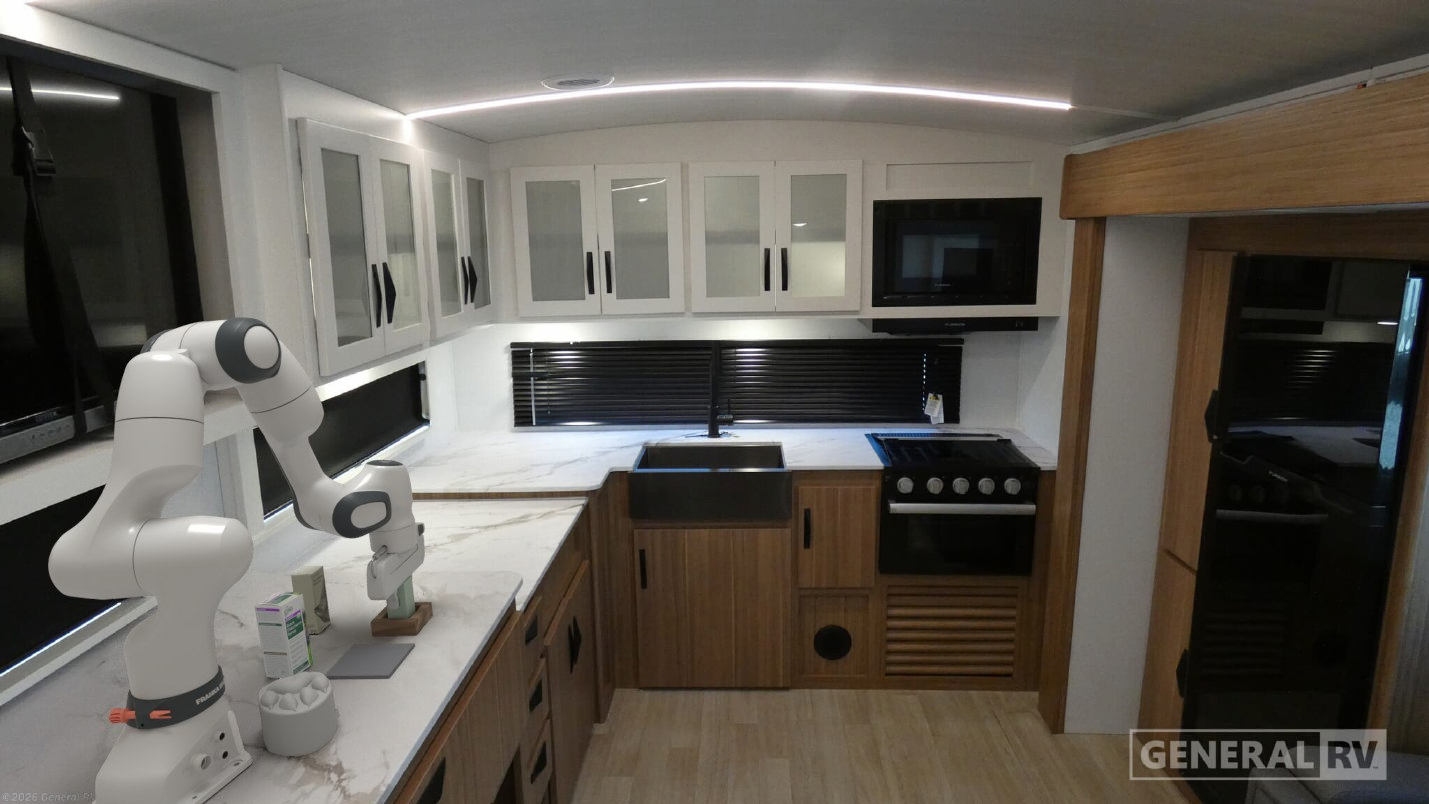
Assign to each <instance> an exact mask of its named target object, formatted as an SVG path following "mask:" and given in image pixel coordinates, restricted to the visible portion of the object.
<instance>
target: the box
mask: <svg viewBox="0 0 1429 804" xmlns="http://www.w3.org/2000/svg"><path fill="white" fill-rule="evenodd" d="M290 577H291V578H290V579H291V585H292V586H291V587H292V592H296V593H302V594H303V600H304V607H305V614H306V620H307V626H308V633H309V635H312V634H313V635H316V634H320V633H321V632H323V631H324V630H325V629H326V628H328V626H330V624H331V618H330V609H329V601H328V596H327V595H328V594H327V587H326V586H327V585H326V579H325V572H324V566H323V565H304V566H301V567H300V568H299V569H297V570H296V571H294V573H292V574H291V575H290ZM324 628H325V629H324ZM314 633H315V634H314Z"/></svg>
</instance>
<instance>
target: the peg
mask: <svg viewBox="0 0 1429 804" xmlns="http://www.w3.org/2000/svg"><path fill="white" fill-rule="evenodd" d="M396 594H397V597H398V598H400V603H401V605H400V606H399V607H398V609H390V608H389V603H388V600H385V602H386V606H387V611H388V618H411V617H412V616H413V615H414V613H415V612H416V610H415V602H416V601H415V593H414V584H413V575H412V576H409V577H408V578H407V579H406V580H405V582H404V583H403V584H402V585H401V586H400V587H399V588H398V589H397V593H396Z"/></svg>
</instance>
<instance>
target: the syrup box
mask: <svg viewBox="0 0 1429 804" xmlns="http://www.w3.org/2000/svg"><path fill="white" fill-rule="evenodd" d="M253 606H254V611H255V617H256V622H257V624H256V625H257V629H258V635H259V641H260V647H261V653H262V659H263V664H264V671H265V676H266V678H271V679H278V678H285V677H290V676H293V675H295V674H298V673H301V672H305V671H306V670H307V669H308V668H310V667H311V666H313V665H314V658H313V653H312V647H311V641H310V634H309V633H308V626H307V620H306V614H305V607H304V600H303V594H302V593H296V592H293V591H276V592H275V593H274V594H272V595H270V596H268V597H267V598H265V599H263V600H262V601H260V602H258V603H256V604H255V605H253Z"/></svg>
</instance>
